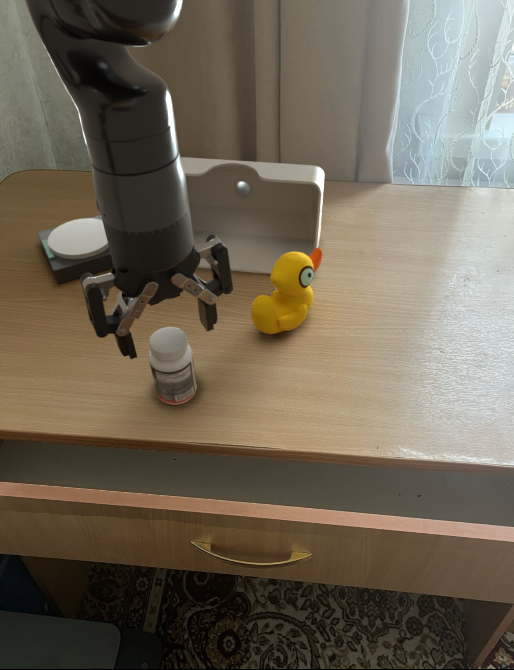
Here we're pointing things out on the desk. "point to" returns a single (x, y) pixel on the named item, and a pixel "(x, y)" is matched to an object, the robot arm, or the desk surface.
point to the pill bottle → (172, 365)
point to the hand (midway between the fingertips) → (170, 339)
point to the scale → (76, 248)
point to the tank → (255, 209)
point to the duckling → (287, 293)
